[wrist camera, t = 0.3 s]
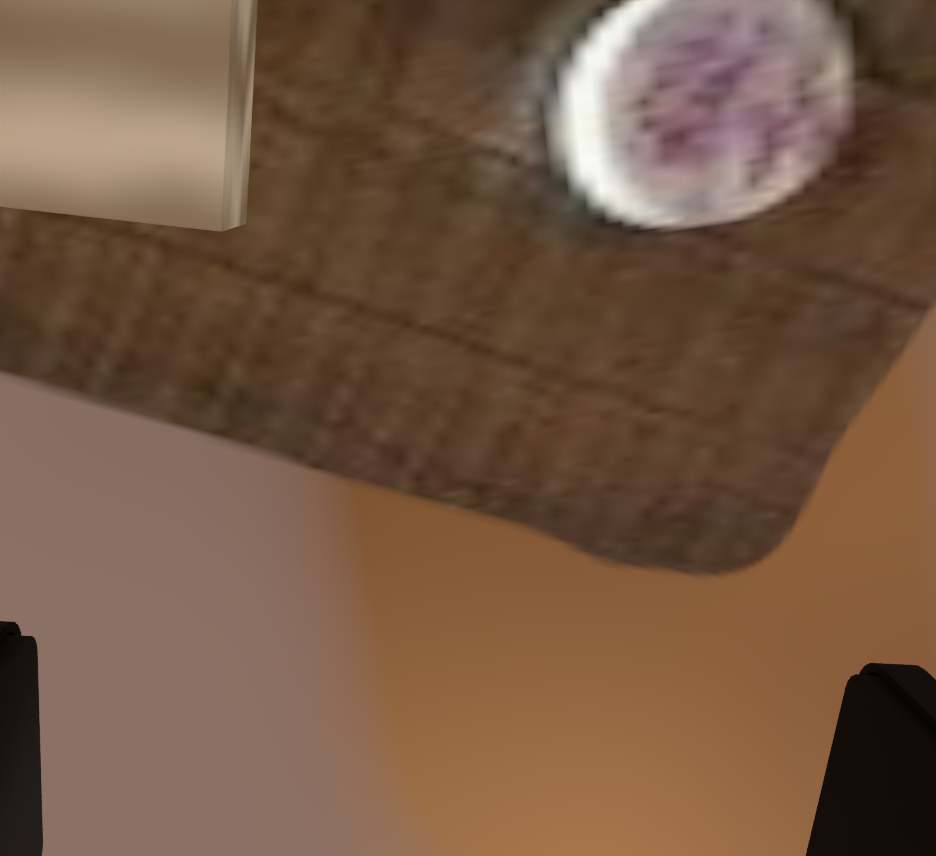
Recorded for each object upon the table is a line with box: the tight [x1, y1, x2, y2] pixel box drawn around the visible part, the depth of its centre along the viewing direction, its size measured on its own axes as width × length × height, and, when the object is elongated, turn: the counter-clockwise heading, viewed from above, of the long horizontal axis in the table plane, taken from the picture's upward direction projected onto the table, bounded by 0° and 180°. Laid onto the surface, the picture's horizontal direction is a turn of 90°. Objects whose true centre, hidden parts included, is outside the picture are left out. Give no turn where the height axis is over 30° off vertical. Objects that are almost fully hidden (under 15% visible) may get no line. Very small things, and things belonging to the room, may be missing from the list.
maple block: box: [0, 0, 258, 231], centre depth 33 cm, size 12×12×6 cm
